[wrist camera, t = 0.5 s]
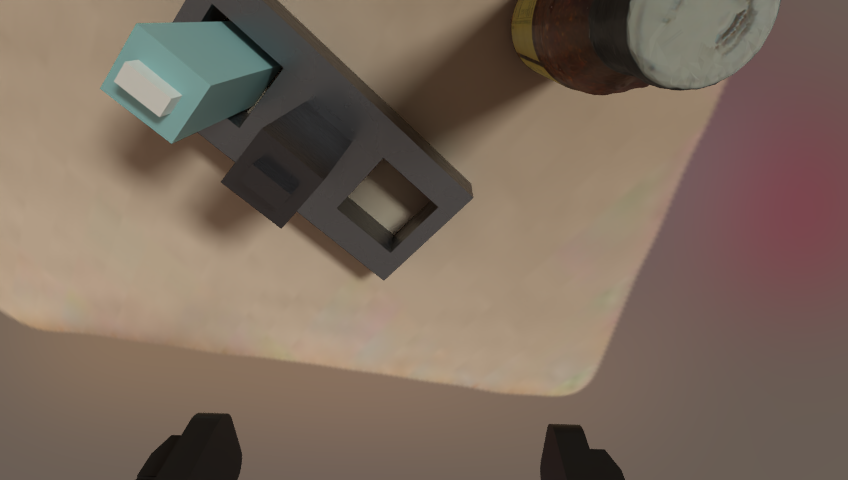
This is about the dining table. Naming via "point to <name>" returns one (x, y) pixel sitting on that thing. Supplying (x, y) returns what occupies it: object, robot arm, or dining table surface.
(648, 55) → the sauce bottle
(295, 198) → the gray slotted rack
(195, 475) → the robot arm
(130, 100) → the plug
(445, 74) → the dining table surface
